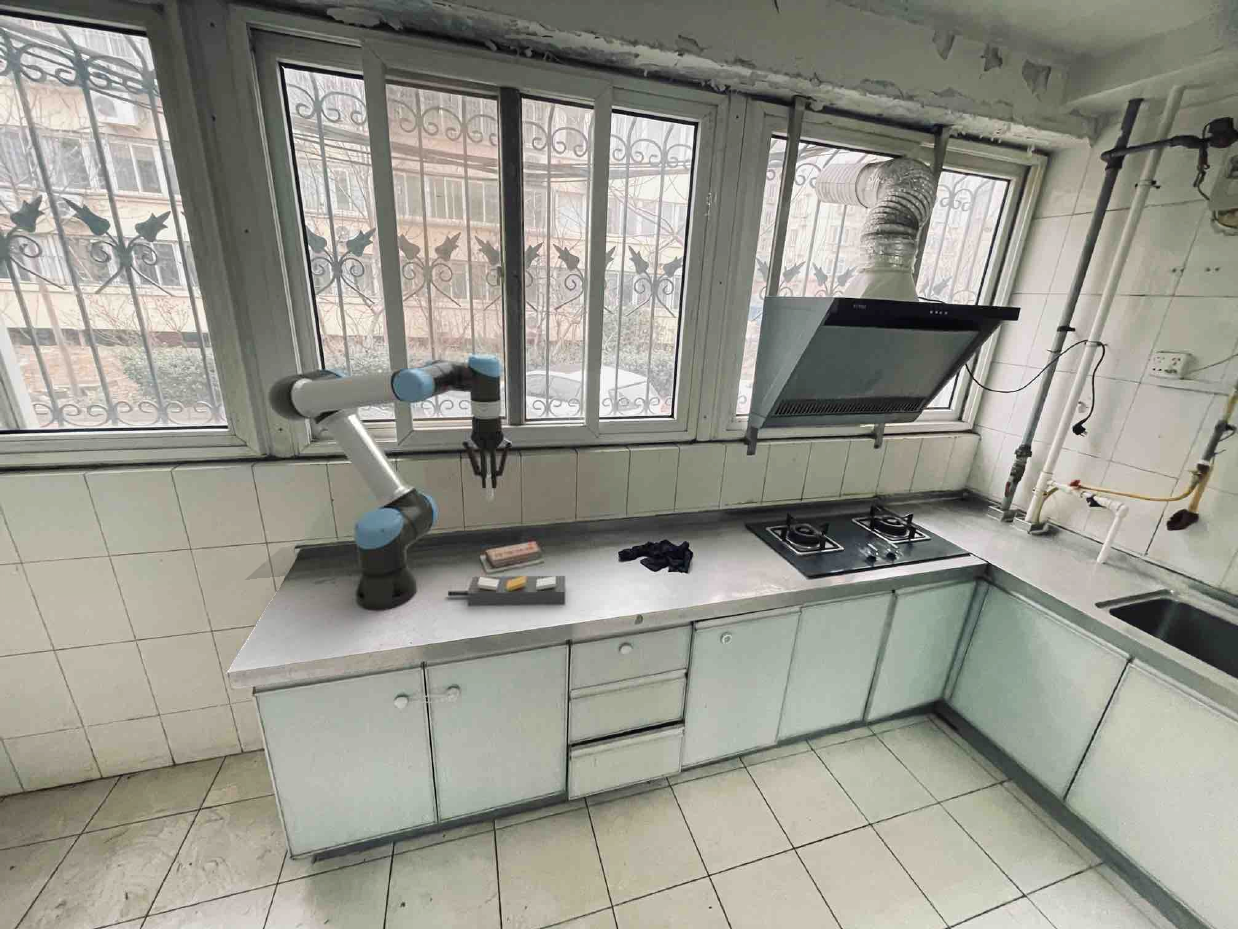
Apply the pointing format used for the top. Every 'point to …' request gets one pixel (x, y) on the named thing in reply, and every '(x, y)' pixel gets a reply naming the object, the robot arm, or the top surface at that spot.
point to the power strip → (514, 592)
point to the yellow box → (516, 583)
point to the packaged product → (511, 557)
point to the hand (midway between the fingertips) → (490, 498)
